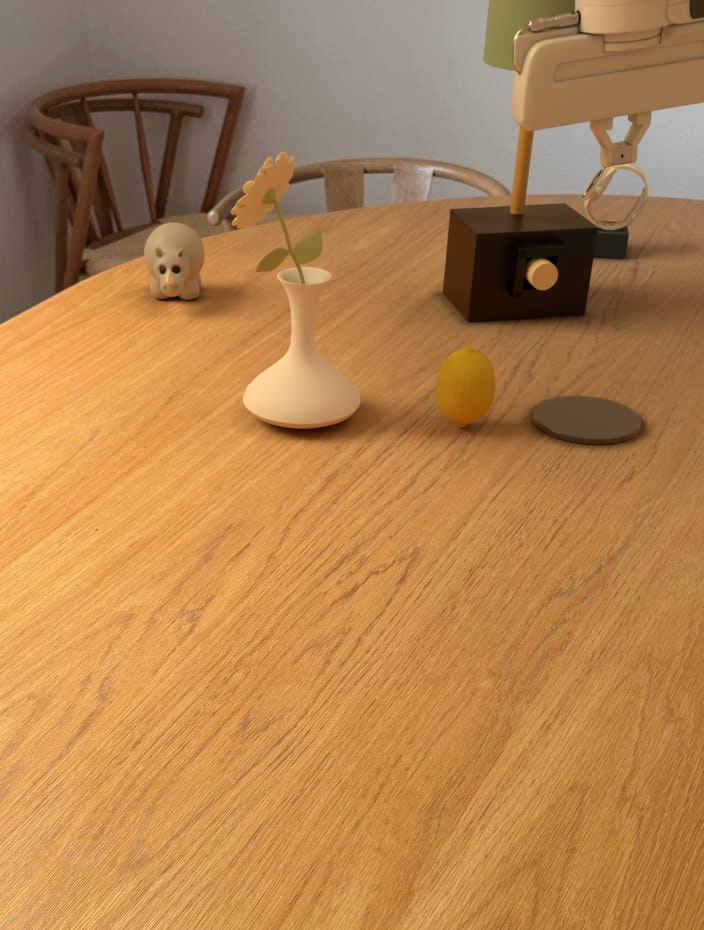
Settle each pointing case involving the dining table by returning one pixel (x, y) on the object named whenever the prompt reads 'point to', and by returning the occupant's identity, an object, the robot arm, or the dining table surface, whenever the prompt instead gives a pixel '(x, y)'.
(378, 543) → the dining table surface
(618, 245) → the watch
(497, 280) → the desk lamp
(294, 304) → the flower in vase
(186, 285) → the round bodied animal figurine
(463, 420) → the lemon
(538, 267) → the lamp switch
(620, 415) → the coaster
